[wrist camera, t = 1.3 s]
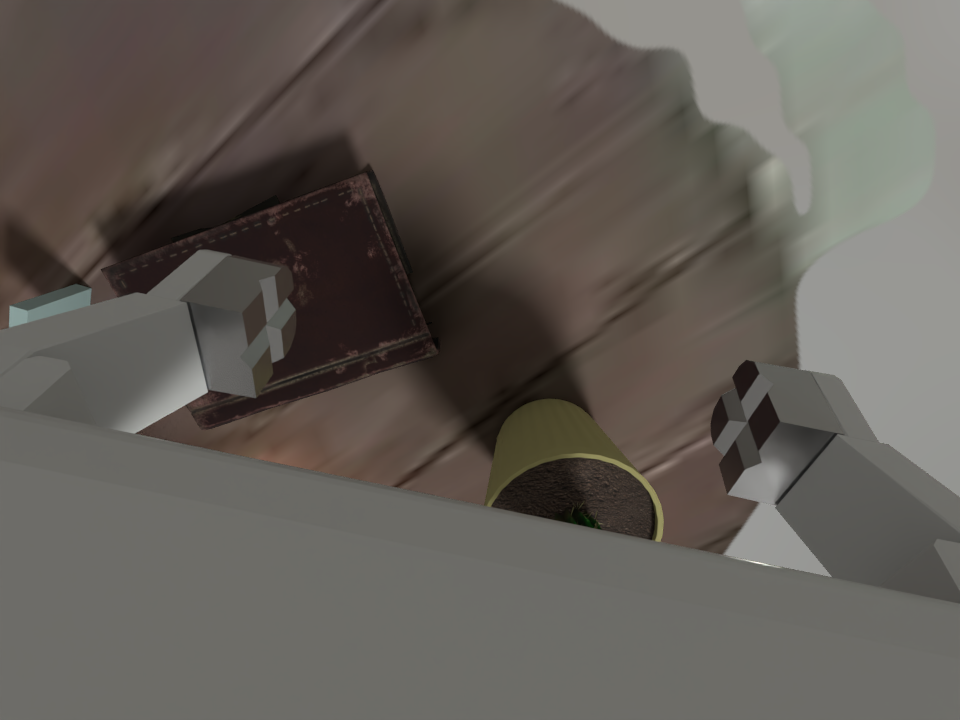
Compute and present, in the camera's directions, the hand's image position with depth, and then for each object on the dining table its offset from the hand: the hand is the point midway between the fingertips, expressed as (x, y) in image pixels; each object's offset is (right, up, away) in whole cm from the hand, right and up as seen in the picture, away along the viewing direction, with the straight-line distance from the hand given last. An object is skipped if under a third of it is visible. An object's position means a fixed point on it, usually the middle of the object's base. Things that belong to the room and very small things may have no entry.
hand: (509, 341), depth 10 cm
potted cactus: (+7, -10, +49) cm, 51 cm away
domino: (-39, +5, +43) cm, 58 cm away
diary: (-19, +6, +44) cm, 48 cm away
